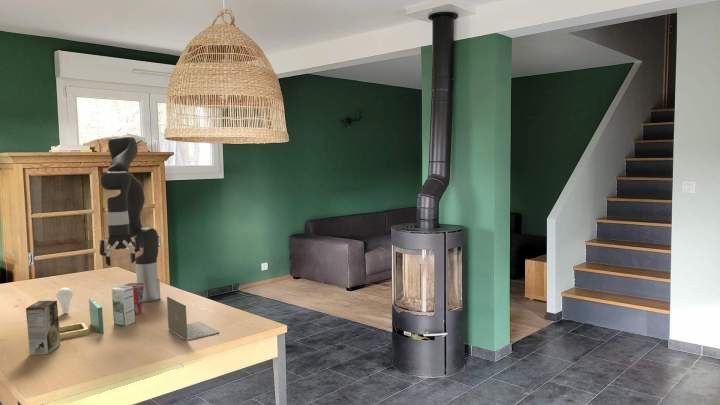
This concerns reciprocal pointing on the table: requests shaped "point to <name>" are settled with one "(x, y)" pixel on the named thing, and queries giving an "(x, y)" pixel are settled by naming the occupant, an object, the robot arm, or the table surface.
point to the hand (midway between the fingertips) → (120, 264)
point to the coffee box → (43, 327)
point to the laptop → (185, 323)
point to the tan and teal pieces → (95, 320)
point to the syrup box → (123, 305)
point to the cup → (137, 296)
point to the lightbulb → (64, 298)
